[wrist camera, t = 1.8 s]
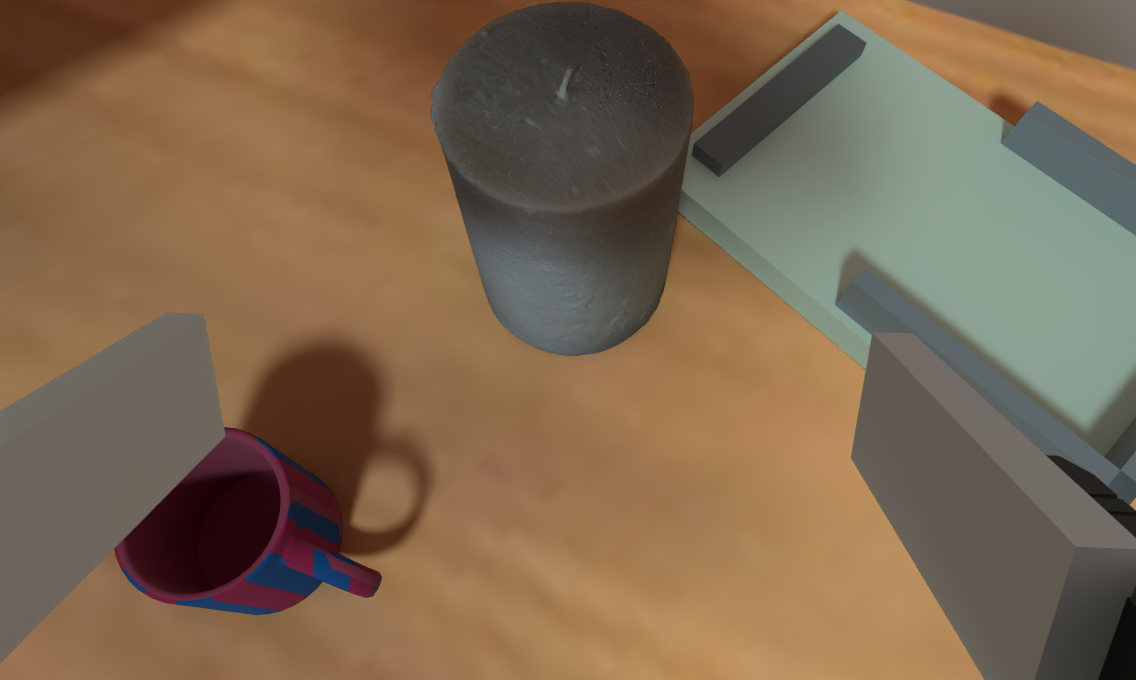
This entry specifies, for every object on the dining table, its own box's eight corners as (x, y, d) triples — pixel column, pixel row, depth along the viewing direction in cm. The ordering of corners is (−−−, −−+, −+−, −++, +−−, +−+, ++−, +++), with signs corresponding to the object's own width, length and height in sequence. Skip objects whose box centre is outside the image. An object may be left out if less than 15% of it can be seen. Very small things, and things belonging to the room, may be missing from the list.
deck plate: (649, 186, 42) (656, 135, 37) (831, 36, 46) (855, -26, 42) (1057, 530, 34) (1123, 513, 30) (1231, 312, 38) (1311, 269, 34)
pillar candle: (643, 185, 42) (666, -48, 28) (682, 342, 38) (733, 161, 24) (471, 213, 41) (410, -9, 28) (494, 375, 37) (436, 210, 24)
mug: (258, 442, 36) (190, 398, 30) (430, 543, 34) (396, 517, 28) (167, 568, 34) (74, 548, 28) (345, 683, 32) (288, 689, 26)
